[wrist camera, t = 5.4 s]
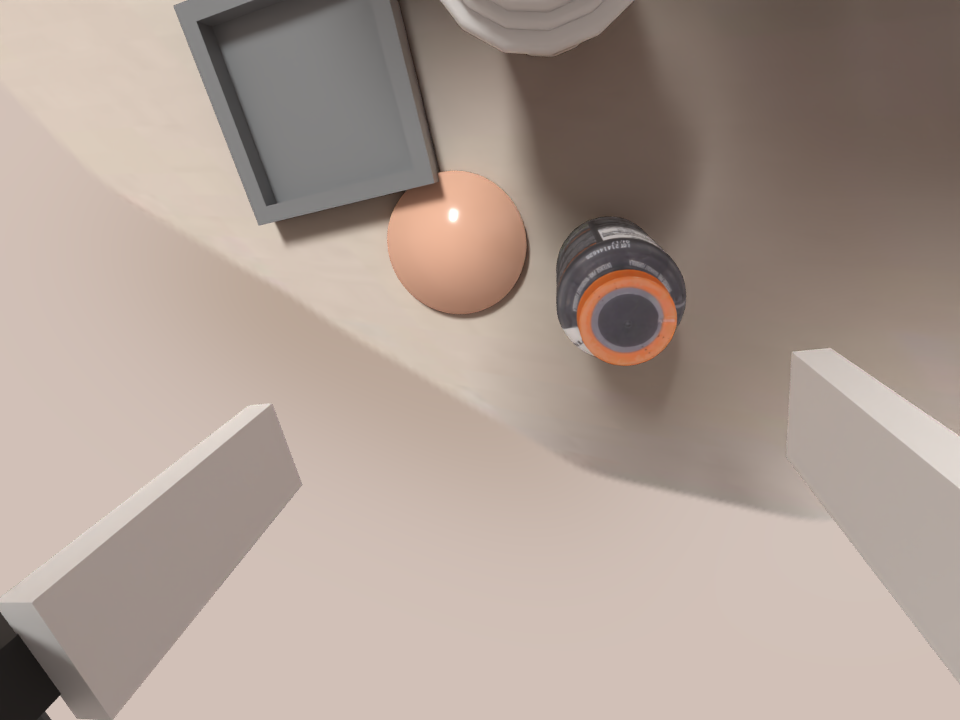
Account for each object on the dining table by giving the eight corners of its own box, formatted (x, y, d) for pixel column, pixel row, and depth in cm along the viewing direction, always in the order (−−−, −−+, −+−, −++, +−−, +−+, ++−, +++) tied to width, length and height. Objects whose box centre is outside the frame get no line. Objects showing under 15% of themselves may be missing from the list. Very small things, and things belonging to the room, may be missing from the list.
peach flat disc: (372, 188, 30) (369, 189, 30) (511, 154, 28) (510, 154, 28) (411, 321, 34) (409, 323, 33) (538, 299, 32) (537, 301, 31)
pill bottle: (582, 324, 32) (592, 408, 22) (540, 246, 30) (528, 297, 20) (670, 281, 30) (726, 352, 20) (629, 195, 28) (667, 223, 18)
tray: (195, 13, 28) (173, 5, 26) (384, -57, 25) (372, -71, 23) (274, 221, 32) (258, 225, 31) (441, 180, 29) (434, 182, 28)
